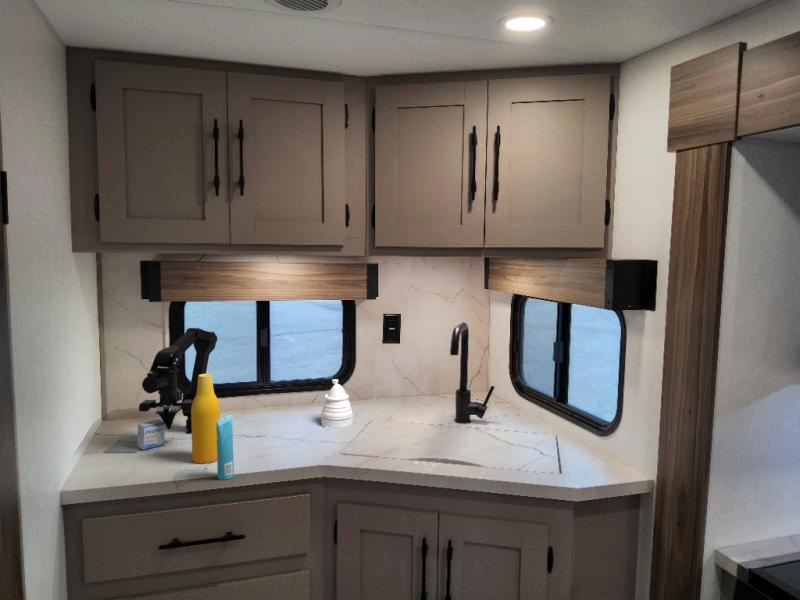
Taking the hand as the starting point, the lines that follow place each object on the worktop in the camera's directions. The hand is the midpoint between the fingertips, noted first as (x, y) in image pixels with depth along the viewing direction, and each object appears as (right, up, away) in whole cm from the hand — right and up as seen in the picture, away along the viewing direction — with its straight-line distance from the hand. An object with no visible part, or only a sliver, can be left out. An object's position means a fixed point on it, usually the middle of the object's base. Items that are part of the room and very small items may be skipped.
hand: (169, 428), depth 199 cm
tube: (+28, -10, -25) cm, 38 cm away
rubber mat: (-15, -6, 0) cm, 16 cm away
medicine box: (-7, -6, 0) cm, 9 cm away
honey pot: (+57, -5, +29) cm, 64 cm away
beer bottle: (+17, -8, -10) cm, 22 cm away
